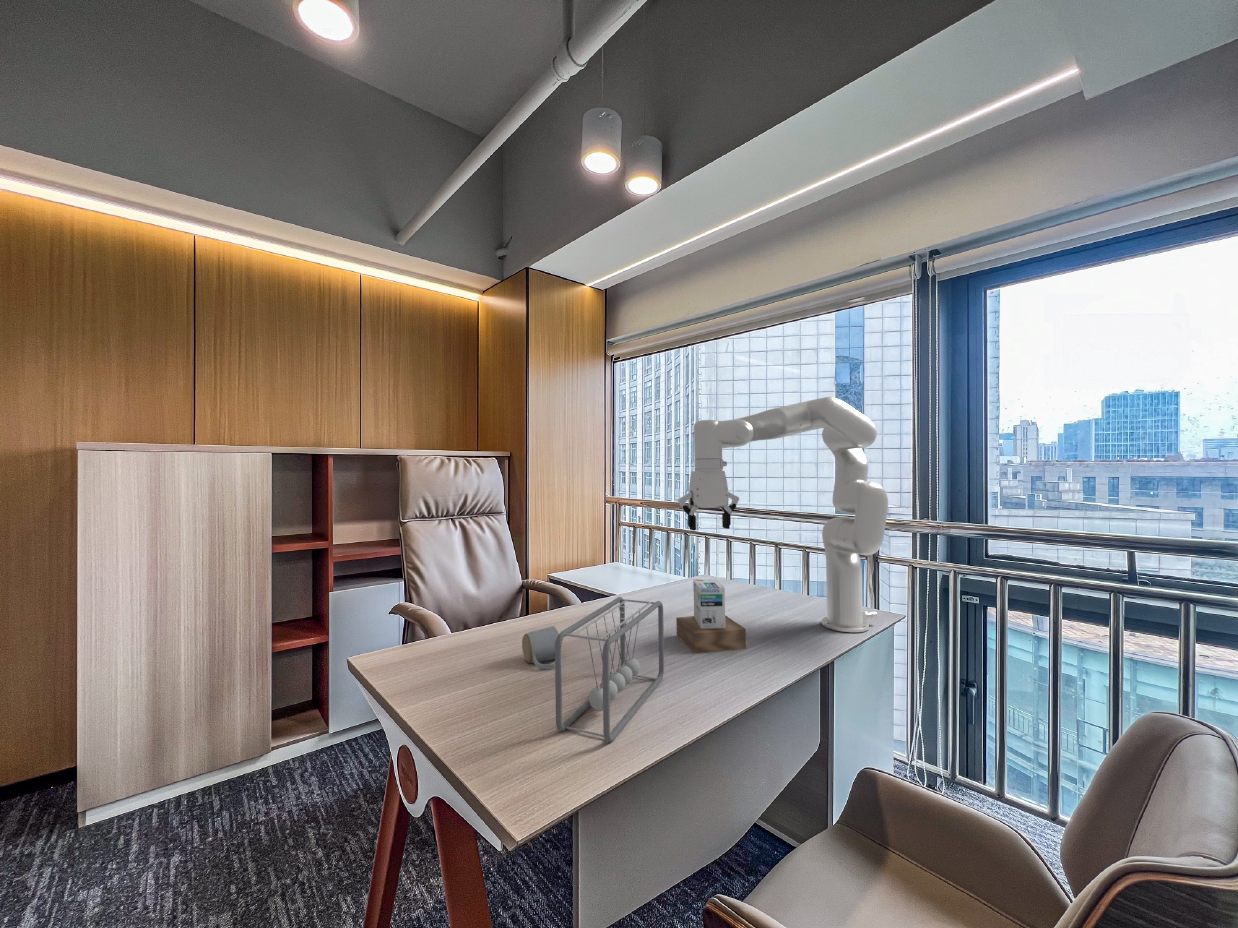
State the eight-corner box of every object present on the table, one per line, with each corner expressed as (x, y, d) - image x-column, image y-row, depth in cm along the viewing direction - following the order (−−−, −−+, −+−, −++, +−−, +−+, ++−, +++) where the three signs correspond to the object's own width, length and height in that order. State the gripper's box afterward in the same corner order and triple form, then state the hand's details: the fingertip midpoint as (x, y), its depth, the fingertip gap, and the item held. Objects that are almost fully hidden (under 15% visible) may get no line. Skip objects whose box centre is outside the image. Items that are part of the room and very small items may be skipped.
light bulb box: (726, 629, 128) (725, 587, 128) (700, 629, 128) (699, 587, 128) (716, 616, 139) (716, 578, 139) (693, 617, 139) (692, 578, 139)
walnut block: (723, 631, 142) (722, 613, 142) (746, 648, 128) (745, 628, 128) (676, 635, 139) (676, 617, 139) (695, 653, 125) (694, 633, 125)
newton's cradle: (621, 671, 115) (620, 594, 115) (664, 678, 111) (663, 598, 111) (554, 735, 87) (553, 634, 88) (608, 748, 83) (607, 642, 83)
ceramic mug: (520, 657, 123) (520, 627, 123) (551, 652, 127) (551, 622, 127) (533, 674, 114) (533, 640, 114) (566, 667, 118) (566, 635, 118)
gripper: (731, 465, 140) (732, 526, 140) (673, 466, 136) (674, 528, 136) (744, 465, 133) (745, 529, 132) (683, 466, 129) (684, 532, 128)
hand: (709, 529), depth 134 cm, fingers open, 9 cm apart
